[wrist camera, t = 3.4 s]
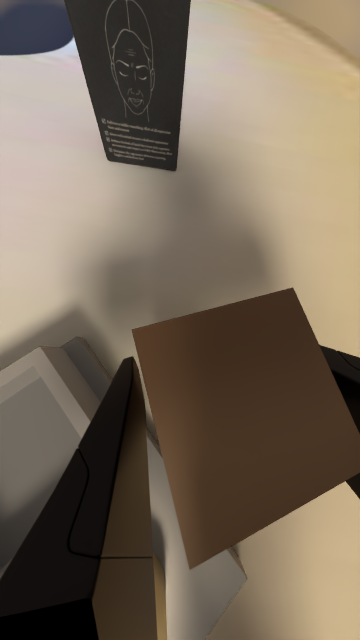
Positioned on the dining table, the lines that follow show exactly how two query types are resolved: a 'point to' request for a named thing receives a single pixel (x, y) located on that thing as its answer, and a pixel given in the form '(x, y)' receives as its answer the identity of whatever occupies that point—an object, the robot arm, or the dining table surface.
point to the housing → (52, 459)
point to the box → (134, 74)
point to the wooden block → (244, 418)
